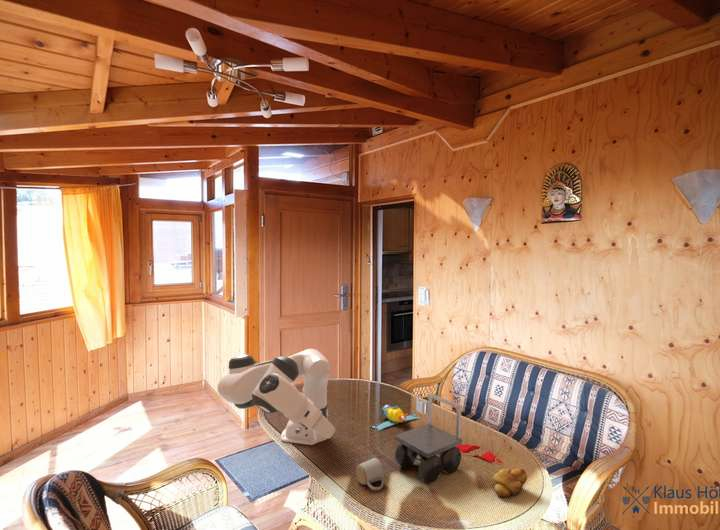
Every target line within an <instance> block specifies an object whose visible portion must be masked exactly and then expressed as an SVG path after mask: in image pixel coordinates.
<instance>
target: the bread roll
mask: <svg viewBox="0 0 720 530" xmlns="http://www.w3.org/2000/svg"><path fill="white" fill-rule="evenodd" d="M527 480H528V475H527V472H526V470H525V469H524V468H520V467H517V468H513V469H510V468H501V469H499V471H498V472H495V474H493V476H492V484H493V490H494V492H495V494H496V495H497V496H499V497H502V498H506V497H509V496H511V495H517V494H519V493H521V492H522V491H523V487H524V484H525V483H526V482H527Z"/></svg>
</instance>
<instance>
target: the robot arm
mask: <svg viewBox="0 0 720 530" xmlns="http://www.w3.org/2000/svg"><path fill="white" fill-rule="evenodd" d="M257 362H258V361H257V360H255V359H254V357H253V356H252V355H250V354H243V353H242V354H237V355H235V356H233V357H232V358H230V360H229V361H228V369H229V372H228V374H227V375H225V376H223V377H222V378H221V379H220V380H219V381H218V384H217V392H218V395H219V396H220V397H221V398H222V399H223V400H225V401H226V402H229V403H231V404H233V405H234V407H236V408H238V409H240V410H241V409H242V410H248V409H251V408H253V407H255V406H257V407H258V408H259V409H260V410H261V411H263V412H264V413H266V414H273V413H278V412H281V413H282V414H283V415H284V416H285V417H286V418H287V419H288V422H287V423H286V427H285V428H284V430H282V432H281V435H280V441H281V442H283V443H284V442H285V443H291V444H293V443H294V444H300V445H308V446H313V445H315V444H317V443H321V442H323V441H326V440H328V439H329V440H330V439H331V438H332V437H333V435H334V433H335V432H336V427H335V426H334V425H333V423H331V422H330V421H329V420H328V416H329V407H328V403H327V401H328V400H327V396H328V395H327V393H328V392H327V391H328V389H327V387H328V382H329V376H330V373H331V365H330V362H329V360H328V358H326V357H325V356H324V354H322V353H321V352H320V351H319V350H318V349H315V348H307V349H304V350H302V351H299V352H297V353H294V354H292V355H289V356H285V355H281V356H276V357H274V359H271V360H270V359H269V360H266V361H261V362H259V363H257ZM303 376H304V381H303V387H302V392H301V391H299V390H298V388H297V387H296V386H295V384H293V383H294V382H295V381H296V380H297V379H298V378H301V377H303Z"/></svg>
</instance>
